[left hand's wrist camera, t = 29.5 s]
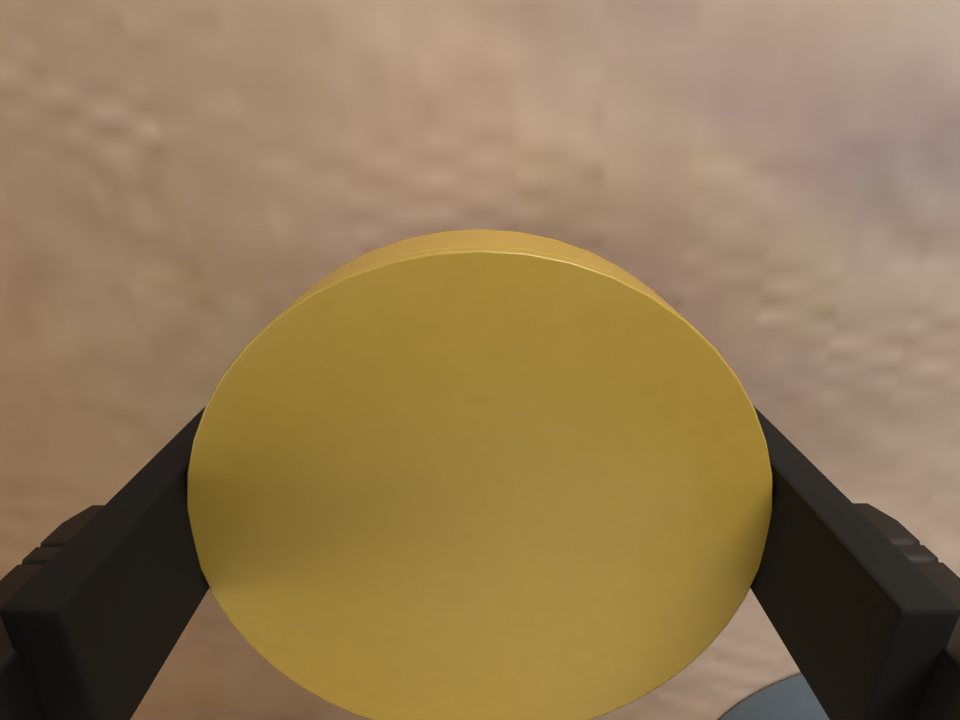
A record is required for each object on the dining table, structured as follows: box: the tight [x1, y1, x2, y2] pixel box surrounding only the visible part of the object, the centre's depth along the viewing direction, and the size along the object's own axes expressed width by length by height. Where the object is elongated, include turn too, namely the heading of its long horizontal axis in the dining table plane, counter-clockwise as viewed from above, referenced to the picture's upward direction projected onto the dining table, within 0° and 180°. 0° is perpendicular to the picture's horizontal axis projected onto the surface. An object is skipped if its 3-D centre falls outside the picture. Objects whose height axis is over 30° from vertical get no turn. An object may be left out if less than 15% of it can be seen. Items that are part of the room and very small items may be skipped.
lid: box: [187, 229, 772, 720], centre depth 12 cm, size 11×11×2 cm
